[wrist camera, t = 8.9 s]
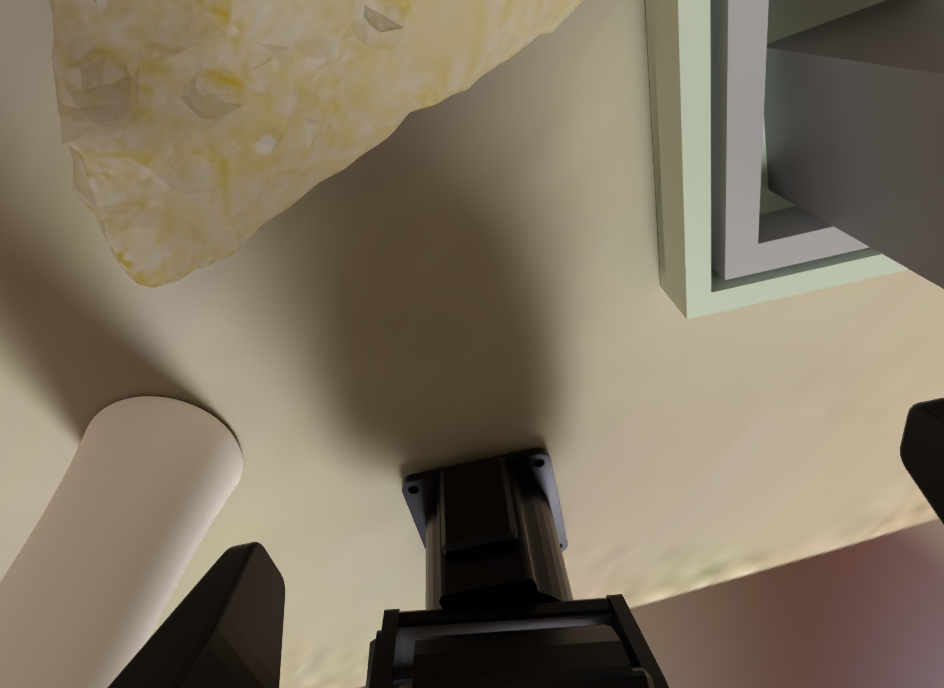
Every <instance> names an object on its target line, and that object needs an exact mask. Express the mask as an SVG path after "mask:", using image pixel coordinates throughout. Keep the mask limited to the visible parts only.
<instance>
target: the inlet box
mask: <svg viewBox="0 0 944 688" xmlns="http://www.w3.org/2000/svg"><path fill="white" fill-rule="evenodd" d="M883 1H886V0H645V9H646V27H647V45H648V64H649V82H650V100H651V119H652V137H653V155H654V174H655V192H656V210H657V228H658V247H659V265H660V283H661V288H662V289H663V290H664V291H665V293H666V294H667V295H668V296H669V298H670V299H671V300H672V301H673V303H674V304H675V305H676V306H677V308H678V309H679V310H680V311H681V313H682V314H683V315H684V316H685V318H686V319H691V318H696V317H700V316H705V315H709V314H714V313H718V312H722V311H727V310H731V309H736V308H740V307H745V306H749V305H754V304H758V303H763V302H767V301H771V300H776V299H780V298H785V297H789V296H794V295H798V294H803V293H807V292H812V291H816V290H820V289H825V288H829V287H834V286H838V285H843V284H847V283H852V282H856V281H861V280H865V279H869V278H874V277H878V276H883V275H887V274H892V273H896V272H901V271H905V270H910V269H908V268H906V267H904V266H903V265H901V264H899V263H897V262H896V261H894V260H892V259H890V258H888V257H887V256H885V255H883V254H881V253H880V252H878V251H876V250H874V249H873V248H871V247H869V246H867V245H865V244H864V243H862V242H860V241H858V240H857V239H855V238H853V237H851V236H850V235H848V234H846V233H844V232H842V231H841V230H839V229H837V228H835V227H834V226H832V225H830V224H828V223H827V222H825V221H823V220H821V219H820V218H818V217H816V216H814V215H812V214H811V213H809V212H807V211H805V210H804V209H802V208H800V207H798V206H797V205H795V204H793V203H791V202H789V201H788V200H786V199H784V198H782V197H781V196H779V195H777V194H775V193H774V192H772V191H770V190H768V174H767V157H766V141H765V125H764V97H765V74H766V51H767V44H769V43H771V42H774V41H777V40H780V39H782V38H785V37H788V36H790V35H793V34H796V33H799V32H801V31H804V30H807V29H810V28H812V27H815V26H818V25H821V24H823V23H826V22H829V21H832V20H834V19H837V18H840V17H842V16H845V15H848V14H851V13H853V12H856V11H859V10H862V9H864V8H867V7H870V6H873V5H875V4H878V3H881V2H883Z"/></svg>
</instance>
